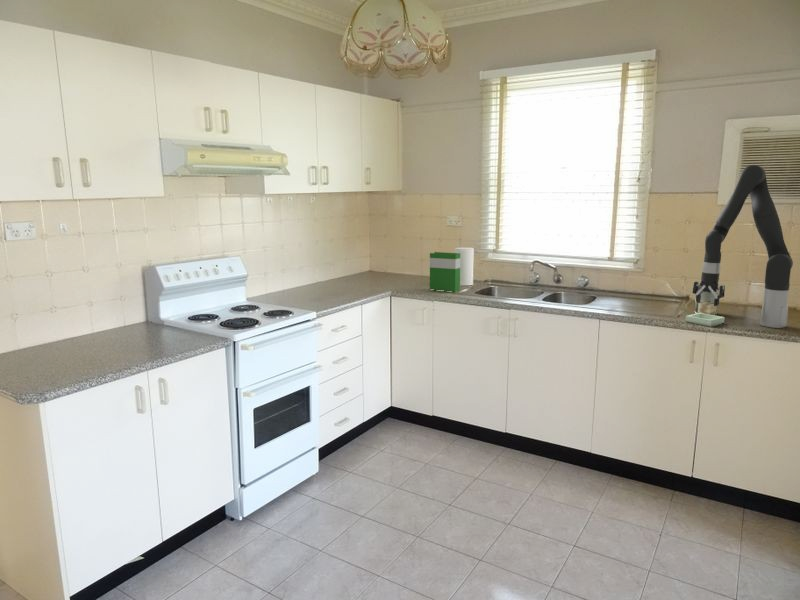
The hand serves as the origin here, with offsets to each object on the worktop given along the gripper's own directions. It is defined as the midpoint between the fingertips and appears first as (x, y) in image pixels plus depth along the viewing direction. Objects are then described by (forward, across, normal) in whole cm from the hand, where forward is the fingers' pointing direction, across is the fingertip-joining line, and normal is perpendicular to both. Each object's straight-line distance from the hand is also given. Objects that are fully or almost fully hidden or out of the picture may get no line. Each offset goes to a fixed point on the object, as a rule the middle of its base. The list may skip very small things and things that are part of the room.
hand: (706, 304), depth 273 cm
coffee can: (+7, +5, -10) cm, 13 cm away
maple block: (+7, -1, 0) cm, 7 cm away
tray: (+7, -6, +11) cm, 14 cm away
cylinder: (+10, +144, +34) cm, 149 cm away
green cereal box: (+10, +134, +58) cm, 147 cm away
